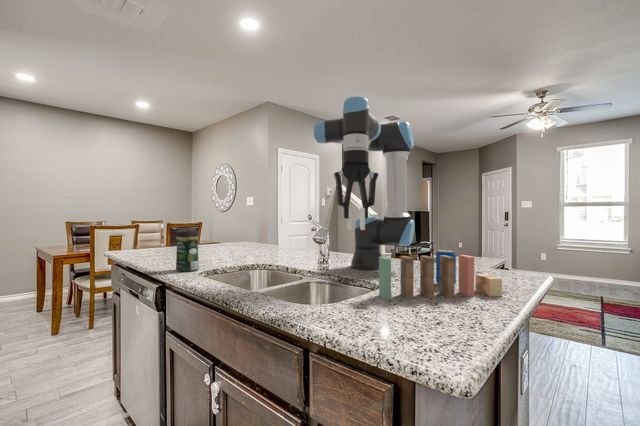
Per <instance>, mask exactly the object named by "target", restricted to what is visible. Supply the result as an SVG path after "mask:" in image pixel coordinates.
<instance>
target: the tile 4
mask: <svg viewBox="0 0 640 426" xmlns="http://www.w3.org/2000/svg"><path fill="white" fill-rule="evenodd" d="M439 294H441V295H443V296H444V297H447V298H455V284H454V257H450V256H447V255H440V285H439Z"/></svg>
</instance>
